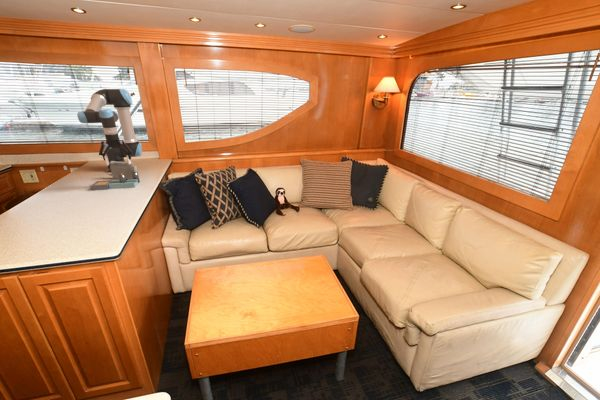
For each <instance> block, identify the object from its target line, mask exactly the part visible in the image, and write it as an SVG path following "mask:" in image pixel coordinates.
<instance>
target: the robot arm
mask: <svg viewBox="0 0 600 400" xmlns="http://www.w3.org/2000/svg"><path fill="white" fill-rule="evenodd" d="M108 105H109V106H113V108H114V109H115V110H116V111H115V110H112V109H111V108H110V109H109V108H106V109H105V108H104V109H103V107H105V106H108ZM132 105H133V99H132V97H131V95H130V92H129V91H128V90H127V89H126V88H125V89H124V88H103V89H100V90H97V91H95V92H94V93H92V95H91V96H90V102H89V103H88V105H87V106H86V108H85V110H84V111H83V110H82V111H78V112H77V120H78V121H79V122H80V123H81V124H101V125H102V126H101V127H102V129H103V133H104V134H105V135H104V137H105V140H102V141H101V142H100V143H101V145H100V149H99V152H98V156H102V159H103V161H105V165H106V166H107V168H106V170H107V169H109V170H107V171H108V172H109V173H112V172H111V168H110V165H111V164H110V162H111V161H116V162H126V161H125V158H126V159H127V162H128V164H131V162H132V161H131V160H132V158H136V157H141V156H142V153H143V147H142V146H143V144H142V142H140V141H139V140H138V139H137V138H136V134H135V130H134V129H135V127H134V126H133V125H134V124H133V120H132V116H131V111H130V109H131V107H132ZM118 121H119V124H120V128H121V132H122V136H123V140H120V137H119V134H118V132H119V131H118V127H117V125H116V124H117V123H116V122H118ZM108 172H107V173H108Z"/></svg>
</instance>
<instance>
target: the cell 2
mask: <svg viewBox="0 0 600 400" xmlns="http://www.w3.org/2000/svg"><path fill="white" fill-rule="evenodd" d="M137 171H138V170H137ZM137 171H133V172H131V173H132V177H133V179H137V181H138V184H139V183H140V182H141V180H140V177H139V172H137Z"/></svg>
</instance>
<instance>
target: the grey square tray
mask: <svg viewBox="0 0 600 400" xmlns="http://www.w3.org/2000/svg"><path fill="white" fill-rule="evenodd" d="M106 181H109V182H108V183H107V184H103V185H95V184H96V183H98V182H106ZM112 181H114V179H111V180H96V181H95V182H94V183H92V184H91V185H90V188H91V191H103V190H106V191H107V190H110V188H109V185H108V184H111V183H112Z"/></svg>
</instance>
